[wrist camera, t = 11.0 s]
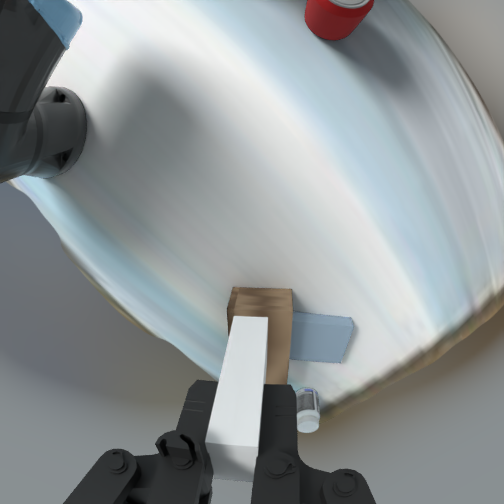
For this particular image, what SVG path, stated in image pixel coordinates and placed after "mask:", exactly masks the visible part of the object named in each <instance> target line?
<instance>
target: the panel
mask: <svg viewBox="0 0 504 504" xmlns="http://www.w3.org/2000/svg"><path fill="white" fill-rule="evenodd" d="M353 328H354V325H353V322H352V319H351V317H341V316H330V315H321V314H311V313H302V312H294V311H293V318H292V331H291V344H290V356H289V359H294V360H305V361H316V362H329V363H341V361H342V358H343V356H344V353H345V350H346V348H347V345H348V342H349V339H350V337H351V334H352V331H353Z"/></svg>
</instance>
